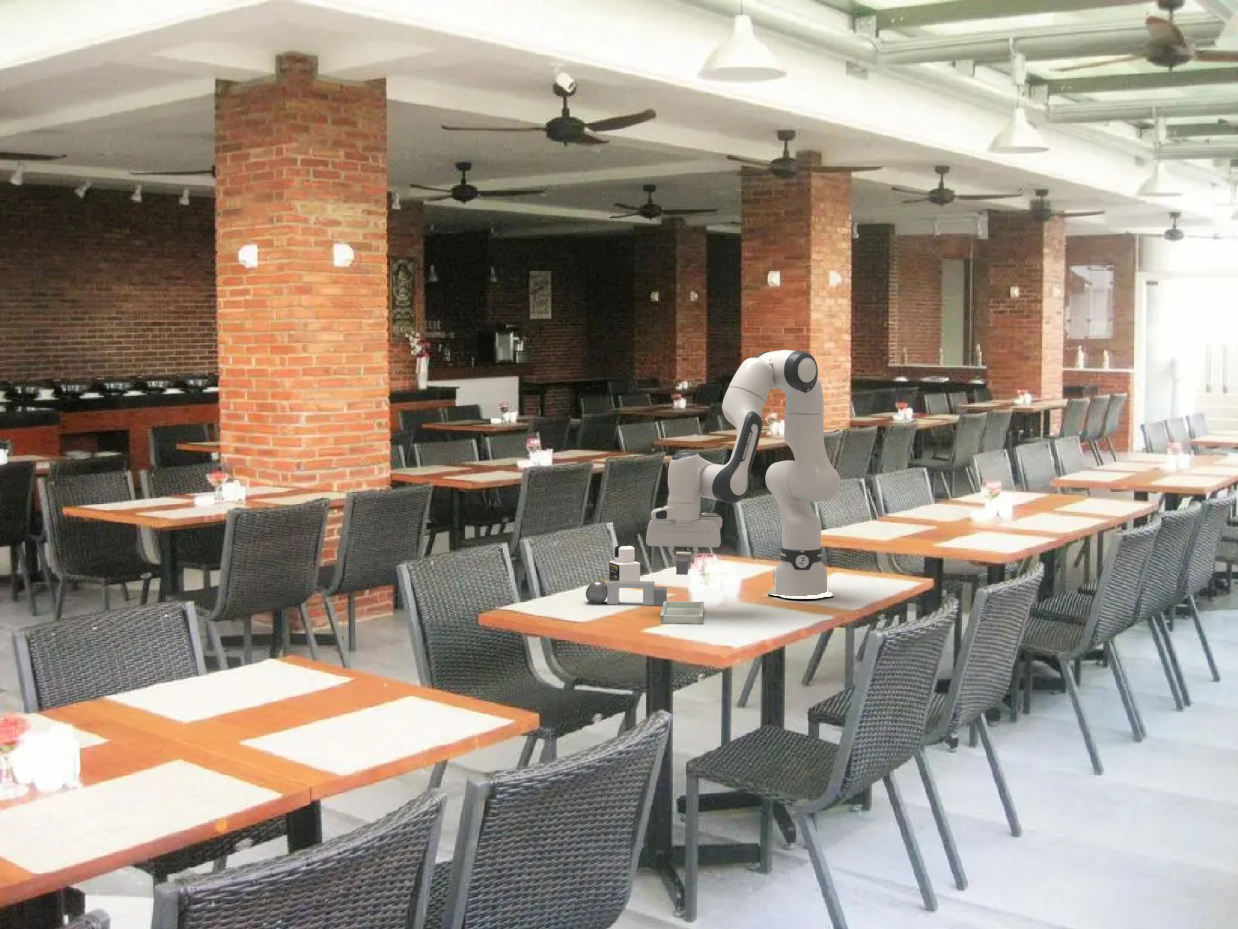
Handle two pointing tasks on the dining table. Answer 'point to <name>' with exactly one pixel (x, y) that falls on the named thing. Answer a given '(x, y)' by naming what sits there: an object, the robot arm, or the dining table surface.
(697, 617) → the tray
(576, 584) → the dining table surface
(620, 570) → the medicine bottle
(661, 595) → the housing
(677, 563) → the dark grey rectangular bar
